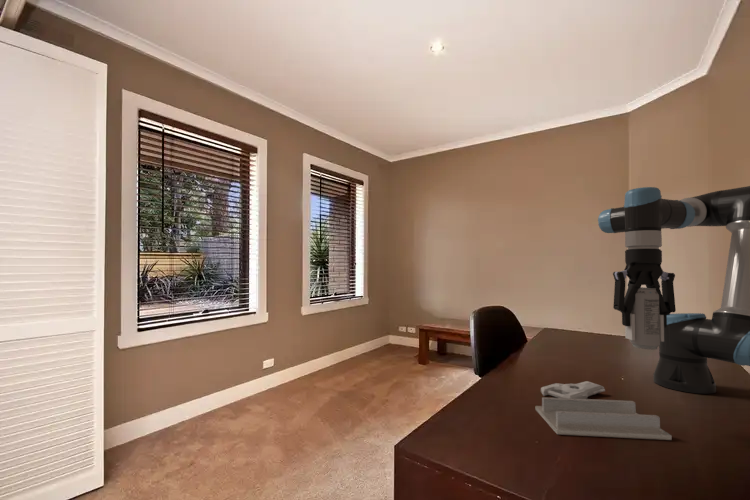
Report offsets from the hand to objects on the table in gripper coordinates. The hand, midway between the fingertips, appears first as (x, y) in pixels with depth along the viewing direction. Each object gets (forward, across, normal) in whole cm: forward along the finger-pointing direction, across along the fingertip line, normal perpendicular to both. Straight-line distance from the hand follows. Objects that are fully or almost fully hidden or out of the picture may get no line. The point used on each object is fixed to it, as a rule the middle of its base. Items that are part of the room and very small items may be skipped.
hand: (644, 339), depth 90 cm
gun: (+20, +10, -16) cm, 28 cm away
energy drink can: (+2, 0, 0) cm, 2 cm away
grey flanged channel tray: (+20, +14, +4) cm, 24 cm away
